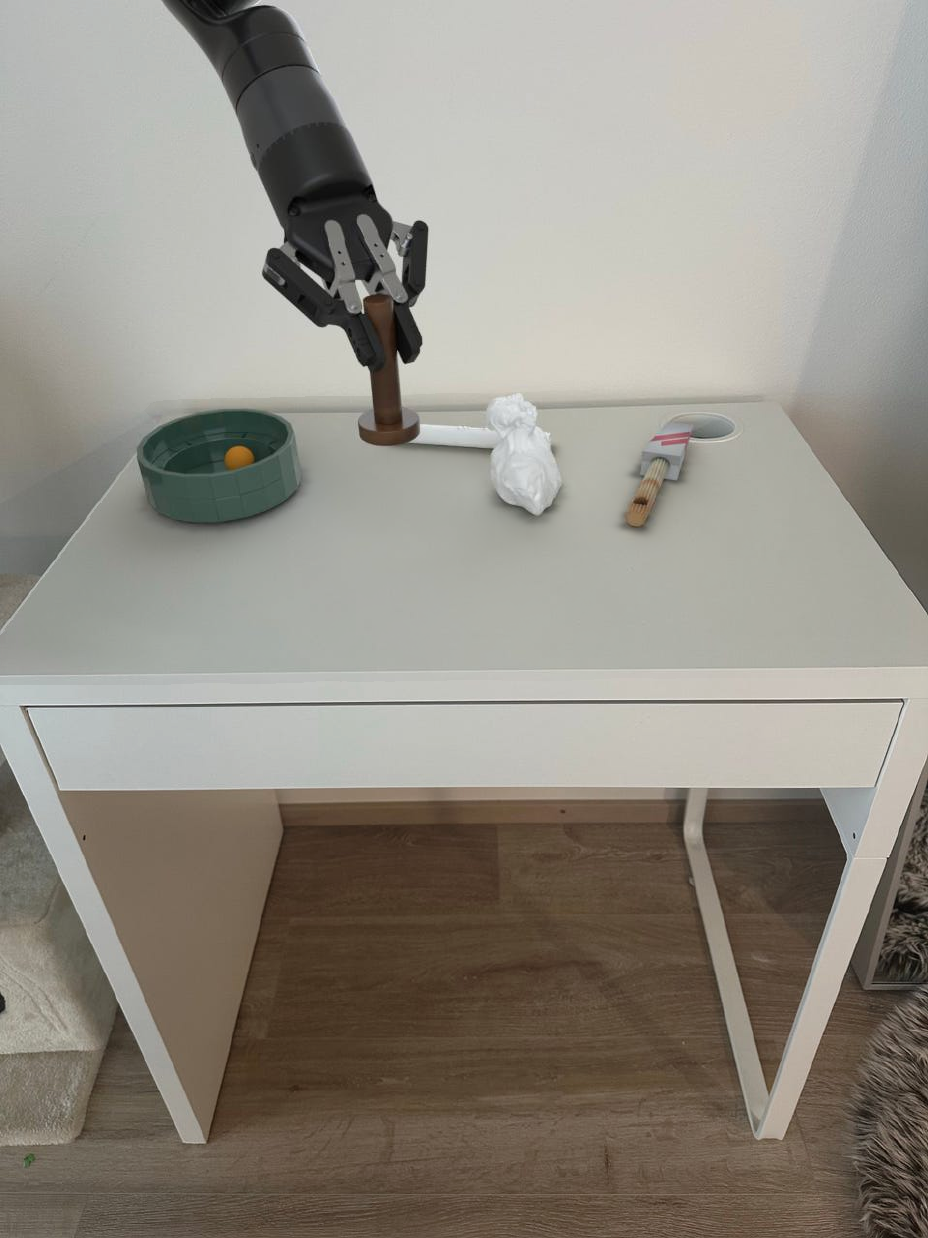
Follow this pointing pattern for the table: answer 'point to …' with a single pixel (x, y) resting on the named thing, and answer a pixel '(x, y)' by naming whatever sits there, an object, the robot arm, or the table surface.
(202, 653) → the table surface
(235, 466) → the bead
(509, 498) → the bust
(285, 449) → the bowl
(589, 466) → the table surface
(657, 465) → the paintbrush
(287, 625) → the table surface
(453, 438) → the marker
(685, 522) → the table surface
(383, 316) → the wooden peg stand
